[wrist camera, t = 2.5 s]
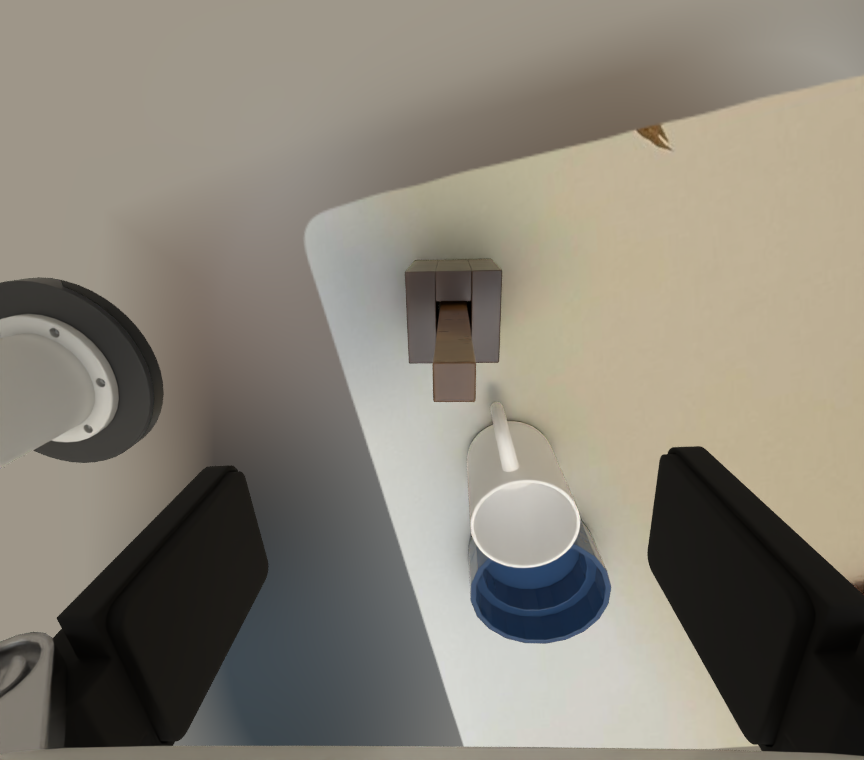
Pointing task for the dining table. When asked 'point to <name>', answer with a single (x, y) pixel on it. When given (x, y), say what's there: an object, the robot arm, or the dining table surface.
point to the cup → (518, 495)
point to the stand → (453, 283)
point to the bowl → (541, 593)
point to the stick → (454, 355)
